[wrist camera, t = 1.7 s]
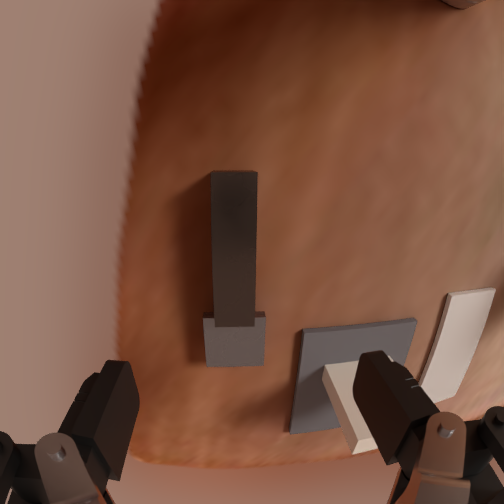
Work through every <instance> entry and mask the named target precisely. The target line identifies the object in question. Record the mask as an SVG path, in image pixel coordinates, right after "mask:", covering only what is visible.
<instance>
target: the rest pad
mask: <svg viewBox="0 0 504 504" xmlns="http://www.w3.org/2000/svg"><path fill="white" fill-rule="evenodd" d="M495 291H496V289H494V288H493V287H490V288H483V289H476V290H468V291H461V292H453V293H448V296H447V299H446V303H445V307H444V311H443V314H442V317H441V321H440V324H439V327H438V331H437V334H436V337H435V340H434V343H433V346H432V349H431V352H430V354H429V357H428V360H427V362H426V365H425V368H424V370H423V373H422V375H421V378H420V380H419V386H421V387H422V389H423V390H424V391H425V392H426V394H427V395H428V396H429V398H430V399H431V400H432V402H433V403H436V402H439V401H442V400H445V399H448V398H450V397H453V396H455V394H456V392H457V390H458V388H459V386H460V384H461V382H462V380H463V377H464V375H465V373H466V371H467V369H468V366H469V364H470V362H471V359H472V357H473V355H474V352H475V350H476V347H477V345H478V342H479V340H480V337H481V334H482V331H483V329H484V326H485V323H486V320H487V317H488V314H489V311H490V308H491V304H492V301H493V298H494V294H495Z"/></svg>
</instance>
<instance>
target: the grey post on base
mask: <svg viewBox="0 0 504 504" xmlns="http://www.w3.org/2000/svg"><path fill="white" fill-rule="evenodd" d="M256 232H257V172H256V171H212V172H211V238H212V274H213V300H214V312H204V314H203V327H204V341H205V353H206V364H207V367H235V366H264V347H265V323H266V316H265V312H264V311H262V312H255V285H256Z"/></svg>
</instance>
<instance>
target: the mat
mask: <svg viewBox="0 0 504 504" xmlns="http://www.w3.org/2000/svg"><path fill="white" fill-rule="evenodd" d="M416 324H417V320H416V319H415V318H408V319H401V320H393V321H385V322H376V323H367V324H358V325H347V326H336V327H324V328H310V329H303V330H302V339H301V347H300V356H299V364H298V371H297V379H296V386H295V393H294V400H293V407H292V414H291V420H290V426H289V432H290V434H298V433H306V432H313V431H320V430H327V429H333V428H339V427H341V425H340V423H339V420H338V418H337V415H336V413H335V411H334V408H333V406H332V403H331V401H330V398H329V396H328V393H327V391H326V388H325V386H324V384H323V381H322V376H323V371H324V366H325V365H328V364H337V363H345V362H352V361H359V358H360V355H361V354H362V353H366V352H372V351H378V350H382V351H384V352H385V353H386V355H387V356H390V357H391V358H392V359H393V361H396V362H398V363H399V364H401V365H402V366H404V363H405V360H406V357H407V354H408V351H409V348H410V345H411V341H412V338H413V335H414V331H415V328H416Z"/></svg>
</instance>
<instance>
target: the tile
mask: <svg viewBox="0 0 504 504" xmlns="http://www.w3.org/2000/svg"><path fill="white" fill-rule="evenodd" d="M388 357H389V359H390V360H391V361H392V362H393V359H392V358H391V357H390V356H388ZM358 362H359V361H352V362H345V363H337V364H328V365H325V366H324V371H323V376H322V381H323V384H324V386H325V388H326V391H327V393H328V396H329V398H330V401H331V403H332V406H333V408H334V411H335V413H336V415H337V418H338V420H339V423H340V425H341V428H342V430H343V433H344V435H345V438H346V440H347V443H348V445H349V448H350V450H351V453H352V454H356V453H361V452H365V451H369V450H373V449H376V448H378V447H377V445H376V443H375V441H374V439H373V437H372V435H371V433H370V431H369V429H368V427H367V425H366V423H365V421H364V419H363V417H362V415H361V413H360V411H359V409H358V407H357V405H356V403H355V401H354V398H353V392H352V388H353V382H354V378H355V374H356V370H357V366H358Z"/></svg>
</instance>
